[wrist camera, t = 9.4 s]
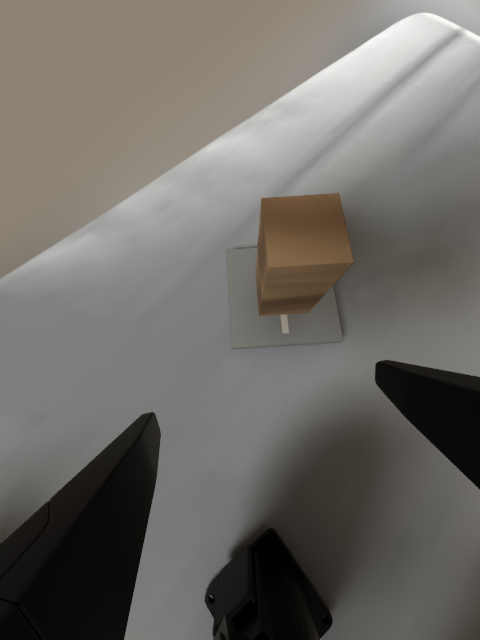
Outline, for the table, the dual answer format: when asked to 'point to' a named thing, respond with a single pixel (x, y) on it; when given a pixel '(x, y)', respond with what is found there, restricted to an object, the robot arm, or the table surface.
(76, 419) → the table surface
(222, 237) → the table surface
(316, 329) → the coaster
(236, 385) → the table surface
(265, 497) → the table surface
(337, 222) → the walnut block
